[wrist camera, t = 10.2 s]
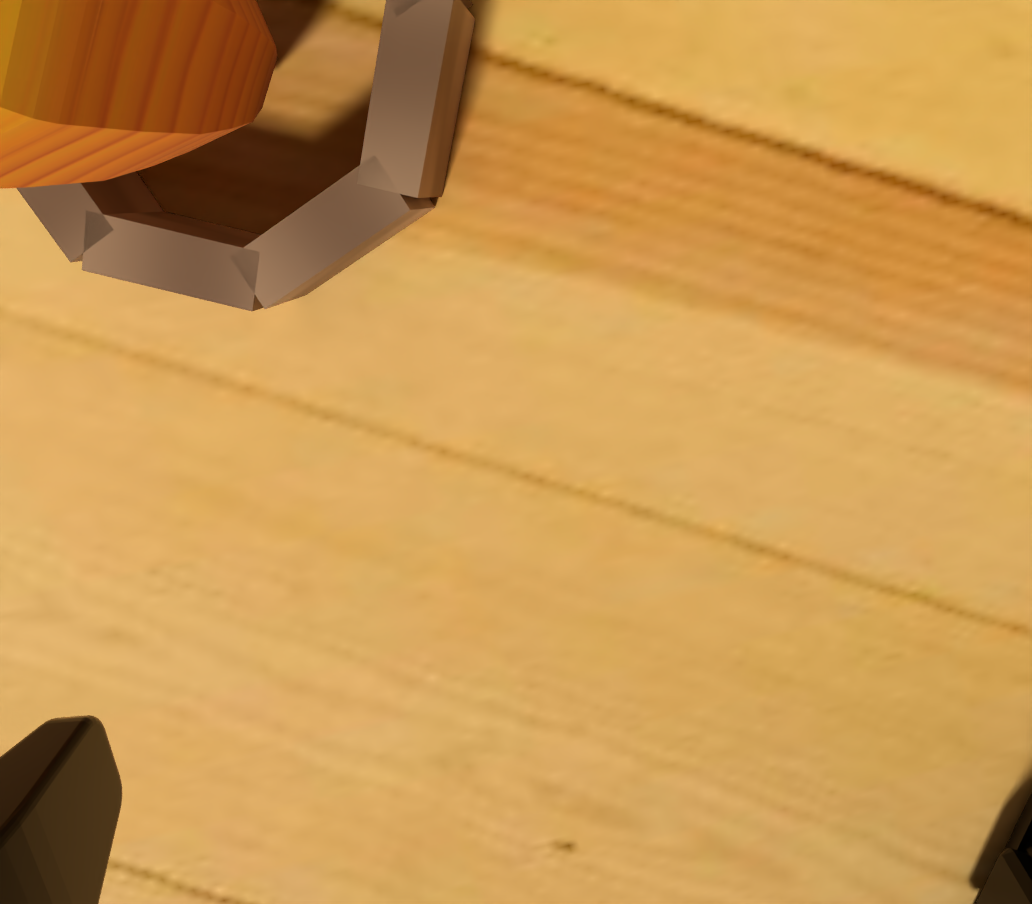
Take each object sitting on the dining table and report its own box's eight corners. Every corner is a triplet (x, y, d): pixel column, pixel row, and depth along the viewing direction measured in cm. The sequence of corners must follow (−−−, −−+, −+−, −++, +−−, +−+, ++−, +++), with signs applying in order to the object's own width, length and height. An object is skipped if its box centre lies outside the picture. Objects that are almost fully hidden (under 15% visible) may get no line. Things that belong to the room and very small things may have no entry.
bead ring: (505, -141, 17) (488, -194, 15) (417, 326, 20) (391, 344, 18) (47, -242, 18) (-41, -310, 15) (24, 231, 20) (-54, 237, 18)
